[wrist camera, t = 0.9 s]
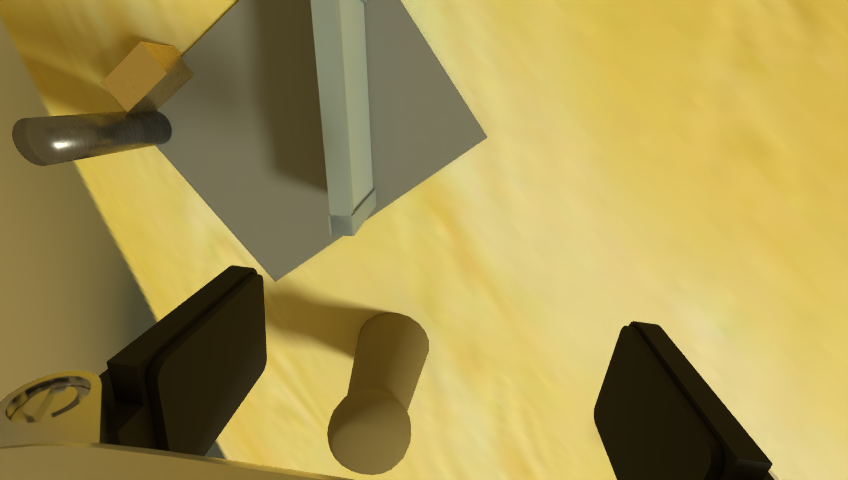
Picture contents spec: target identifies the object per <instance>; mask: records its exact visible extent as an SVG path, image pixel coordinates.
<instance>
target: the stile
mask: <svg viewBox="0 0 848 480" xmlns="http://www.w3.org/2000/svg"><path fill="white" fill-rule="evenodd" d="M181 57H182V56H181V54H180V53H179V52H178V51H177V49H176V48H175V47H174V46H168V45H162V44H155V43H148V42H140V43H139V44H138V45H137V46H136V47H135V48H134V49H133V50H132V51H131V52H130V53H129V54H128V55H127V56H126V57H125V58H124V59H123V60H122V62H121V63H120V64H119V65H118V66H117V67H116V68H115V69H114V70H113V71H112V72H111V73H110V74H109V75H108V76H107V77H106V78H105V79H104V80H103V81H102V82H101V83H102V84H103V85H104V86H105V87H106V89H107V90H108V91H109V92H110V93H111V94H112V95H113V97H114V98H115V99H116V100H117V101H118V102H119V103H120V105H121V106H122V107H123V108H124V109H125V110H126V111H124V112H110V113H95V114H80V115H65V116H51V117H36V118H24V119H20V120H19V121H17V122H16V124H15V125H14V127H13V132H12V136H13V141H14V144H15V146H16V148H17V149H18V151H19V152H20V153H21V155H22V156H24V158H26V159H27V160H28V161H30V162H31V163H33V164H36V165H41V166H46V165H51V164H57V163H63V162H68V161H73V160H79V159H84V158H90V157H95V156H100V155H106V154H111V153H117V152H122V151H127V150H133V149H138V148H144V147H149V146H155V145H160V144H164V143H166V142H168V141H169V139H170V138H171V135H172V128H171V124H170V122H169V120H168V119H167V117H166V116H165V115H164V114H162V113H161V112H159V111H157V110H158V109H159V108H160V107H161V106H163V105H164V104H165V103H166V102H167V101H168V100H169V99H170V98H171V97H172V96H173V95H174V94H175V93H176V92H177V91H178V90H179V89H180V88H181V87H183V86H184V85H185V84H186V83H187V82H188V81H189V80H190V79H191V78H192V77H193V76H194V74H193V72H192V71H191V70H190V69H189V68H188V66H187V65H186V64H185V63H184V61H183V60H182V59H181Z"/></svg>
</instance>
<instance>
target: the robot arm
mask: <svg viewBox="0 0 848 480" xmlns="http://www.w3.org/2000/svg"><path fill="white" fill-rule="evenodd" d="M266 361H267V353H266V331H265V309H264V287H263V277H262V276H261V275H259V274H257V271H256V270H255V269H254V268H248V267H241V266H233V265H232V266H230V267H228V268H227V269H226V270H224V271H223V272H222V273H221V274H219V275H218V276H217V277H215V278H214V279H213V280H212V281H210V282H209V283H208V284H206V285H205V286H204V287H203V288H201V289H200V290H199V291H197V292H196V293H195V294H194V295H192V296H191V297H190V298H188V299H187V300H186V301H185V302H183V303H182V304H181V305H179V306H178V307H177V308H175V309H174V310H173V311H172V312H170V313H169V314H168V315H166V316H165V317H164V318H163V319H161V320H160V321H159V322H157V323H156V324H155V325H154V326H152V327H151V328H150V329H148V330H147V331H146V332H145V333H143V334H142V335H141V336H139V337H138V338H137V339H136V340H134V341H133V342H132V343H130V344H129V345H128V346H126V347H125V348H124V349H123V350H121V351H120V352H119V353H117V354H116V355H115V356H114V357H112V358H111V359H110V360H108V361H107V366H108V369H107V370H106V371H105V372H103V373H102V374H101V375H100V376H97V375H95V374H94V373H91V372H87V371H65V372H60V373H54V374H51V375H47V376H44V377H41V378H38V379H36V380H34V381H32V382H29V383H27V384H25V385H23V386H21V387H19V388H18V389H16V390H15V391H13V392H11V393H10V394H8V395H7V396H6V397H5V398H4V399H3V400H2V401H1V402H0V480H353V479H347V478H341V477H334V476H328V475H321V474H315V473H309V472H302V471H296V470H289V469H283V468H277V467H270V466H264V465H257V464H251V463H245V462H238V461H232V460H225V459H218V458H211V457H205V454H206V453H207V451H208V450H209V449H210V447H211V446H212V444H213V443H214V442H215V440H216V439H217V437H218V436H219V434H220V433H221V432H222V430H223V429H224V427H225V426H226V424H227V423H228V422H229V420H230V419H231V417H232V416H233V414H234V413H235V412H236V410H237V409H238V407H239V406H240V404H241V403H242V401H243V400H244V399H245V397H246V396H247V394H248V393H249V391H250V390H251V389H252V387H253V386H254V384H255V383H256V381H257V380H258V379H259V377H260V376H261V374H262V373H263V371H264V369H265V366H266ZM594 421H595V424H596V427H597V429H598V432H599V434H600V437H601V440H602V442H603V445H604V447H605V450H606V452H607V455H608V457H609V460H610V463H611V465H612V468H613V470H614V473H615V475H616V478H617V480H775V479H774V478H773V477H772V476H771V474H770V473H769V472H768V471H769V469H770V468H771V466H772V462H771V461H770V460H769V459H768V458H767V456H766V455H765V454H764V453H763V451H762V450H761V449H760V448H759V447H758V445H757V444H756V443H755V442H754V440H753V439H752V438H751V437H750V436H749V434H748V433H747V432H746V431H745V429H744V428H743V427H742V426H741V425H740V423H739V422H738V421H737V420H736V418H735V417H734V416H733V415H732V414H731V412H730V411H729V410H728V409H727V407H726V406H725V405H724V404H723V403H722V401H721V400H720V399H719V398H718V396H717V395H716V394H715V393H714V392H713V390H712V389H711V388H710V387H709V385H708V384H707V383H706V382H705V381H704V379H703V378H702V377H701V376H700V374H699V373H698V372H697V371H696V370H695V368H694V367H693V366H692V365H691V363H690V362H689V361H688V360H687V359H686V357H685V356H684V355H683V354H682V352H681V351H680V350H679V349H678V348H677V346H676V345H675V344H674V343H673V341H672V340H671V339H670V338H669V337H668V335H667V334H666V333H665V332H664V330H663V329H662V328H661V327H660V326H659V325H656V324H650V323H642V322H635V321H633V322H631V323H630V324H629V326H624V327H623V328H622V329H621V331H620V334H619V337H618V340H617V343H616V346H615V349H614V352H613V355H612V358H611V361H610V364H609V367H608V370H607V373H606V375H605V378H604V381H603V384H602V387H601V390H600V393H599V396H598V399H597V402H596V405H595V408H594Z"/></svg>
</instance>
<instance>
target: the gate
mask: <svg viewBox="0 0 848 480" xmlns="http://www.w3.org/2000/svg"><path fill="white" fill-rule="evenodd" d="M364 4H367V0H311V11H312V22H313V33H314V44H315V55H316V66H317V77H318V88H319V99H320V110H321V121H322V132H323V143H324V154H325V165H326V177H327V188H328V199H329V210H330V214H329V215H328V217H329V228H330V235H343V236H354V235H355V234H356V232H357V231H358V230H359V228H360V227H361V225H362V224H363V223H364V221H365V220H366V219H367V217H368V216H369V215H370V213H371V212H372V211H373V209H374V208H375V207H376V189H373V179H372V159H371V139H370V119H369V99H368V79H367V59H366V39H365V19H364Z"/></svg>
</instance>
